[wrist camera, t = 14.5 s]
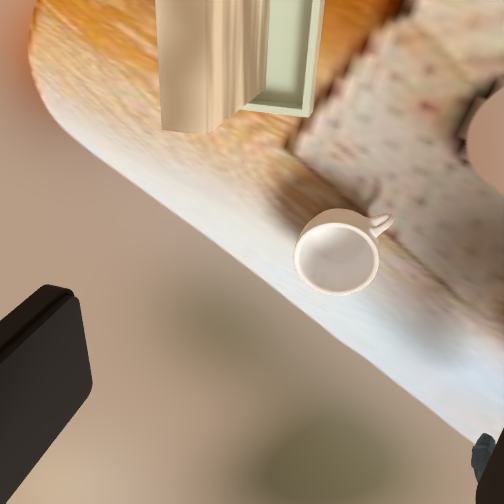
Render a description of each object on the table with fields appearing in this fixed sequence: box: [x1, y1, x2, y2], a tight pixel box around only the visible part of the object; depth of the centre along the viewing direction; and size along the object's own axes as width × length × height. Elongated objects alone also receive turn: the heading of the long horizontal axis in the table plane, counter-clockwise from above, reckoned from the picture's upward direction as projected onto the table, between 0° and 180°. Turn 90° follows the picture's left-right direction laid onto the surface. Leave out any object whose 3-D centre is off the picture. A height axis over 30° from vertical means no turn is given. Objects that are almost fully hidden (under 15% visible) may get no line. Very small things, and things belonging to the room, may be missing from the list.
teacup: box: [293, 208, 395, 296], centre depth 46 cm, size 10×8×5 cm
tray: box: [241, 0, 325, 117], centre depth 40 cm, size 12×12×2 cm
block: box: [155, 0, 271, 135], centre depth 35 cm, size 3×9×15 cm, turn 177°
